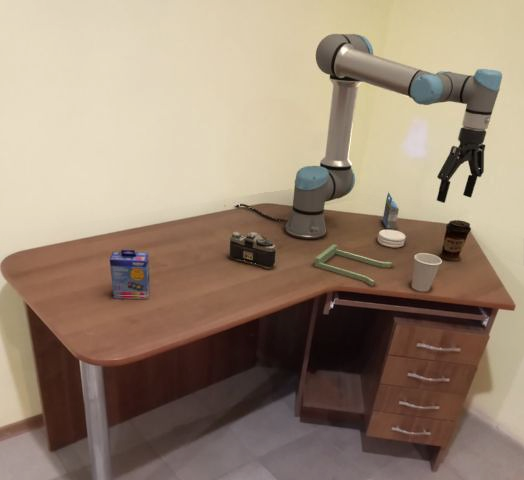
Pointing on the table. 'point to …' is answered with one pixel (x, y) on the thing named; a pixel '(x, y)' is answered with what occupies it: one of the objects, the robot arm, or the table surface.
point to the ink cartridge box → (130, 274)
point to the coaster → (391, 238)
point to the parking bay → (333, 250)
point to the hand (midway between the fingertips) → (454, 198)
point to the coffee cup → (454, 239)
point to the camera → (252, 249)
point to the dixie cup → (424, 271)
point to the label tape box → (390, 213)
